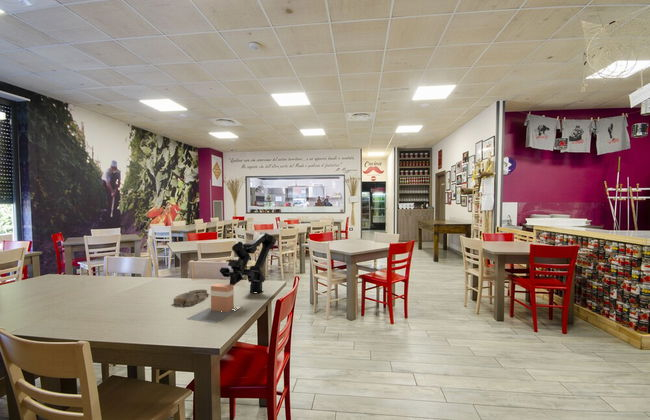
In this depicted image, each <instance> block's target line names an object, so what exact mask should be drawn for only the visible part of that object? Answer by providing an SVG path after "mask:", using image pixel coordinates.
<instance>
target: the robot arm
mask: <svg viewBox="0 0 650 420" xmlns="http://www.w3.org/2000/svg"><path fill="white" fill-rule="evenodd" d="M276 243H277V238H276V237H275V236H273V235H270V234H269V233H268V232H260V233H259V234H258V235H257V236H255V238H253V239H252V240H251V241H247V242H244V243H243V242H242V241H238V242H236V243H235V244H233V245H232V247H231V250H232V252H233V253H234V254H235V256H236V257H238V259H229V260H228V264H227V266H228V267H223V266H222V267H221V268H220V269H219V273H220V274H221V275H222V276H223V277H224V278H229V285H234V286H235V285H236V284H237V283H239V282H241V281H242V280H244V276H246V277H247V281H248V283H250V285H249V287H250V289H249V291H250V292H249V293H252V292H260V293H262V292H261V291H262V290H263V283H264V282H265V281H266V280H265V279H266V278H265V276H264V272H263V271H264V270H263V267H264V264H265V262H266V259H267V258H268V254H269V252H270V250H271V249H273V248H274V246H275V245H276ZM261 244H262V247H261V250H260V252H259V254H258V256H257V258H256V261H255V263H254V265H250V267H249V268H248V263H249V261H251V260H252V256H251V254H255V252H257V250H258V247H259V246H260V245H261ZM229 266H230V269H229Z"/></svg>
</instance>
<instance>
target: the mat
mask: <svg viewBox="0 0 650 420" xmlns="http://www.w3.org/2000/svg"><path fill="white" fill-rule="evenodd" d="M239 306H240V305H239ZM240 307H242V306H240ZM235 308H236V307H235ZM235 308H234V309H235ZM236 309H237V308H236ZM236 309H235V310H236ZM239 310H241V309H240V308H239ZM235 312H238V310H236V311H234V310H230V311H229V312H221V311H214V310H211V308H210V307H208V308H206V309H204V310H201V311H200V312H198V313H195V314H193V315H191V316H190V317H187V318H186V320H191V321H198V322H204V323H206V322H207V323H211V324H212V323H213V324H217V323H219V322H220V321H222V320H224V319H226V318H227V317H229V316H231V315H232V314H234V313H235Z"/></svg>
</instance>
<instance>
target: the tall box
mask: <svg viewBox="0 0 650 420" xmlns="http://www.w3.org/2000/svg"><path fill="white" fill-rule="evenodd" d="M234 286H235V285H230V283H229V284H228V283H215V284H212V285H211V286H210V307H211V310H214V311H222V312H229V311H230V310H232V309H234V306H235V305H234V303H235V302H234V297H235V295H234V294H235V291H234V290H235V289H234Z"/></svg>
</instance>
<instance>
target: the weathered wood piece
mask: <svg viewBox="0 0 650 420" xmlns="http://www.w3.org/2000/svg"><path fill="white" fill-rule="evenodd" d="M209 296H210V293H208V290H207V289H194V290H190V291H188V292H183V293H181V294H178V295H177V296H175V297H174V298H173V299H172V300H173V303H174V304H175V305H176V306H180V305H183V306H185V305H186V307H191V306H195V305H197V304H200V303H201V302H203V301H205V300H206V299H207V298H208V297H209ZM206 297H207V298H206Z"/></svg>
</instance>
